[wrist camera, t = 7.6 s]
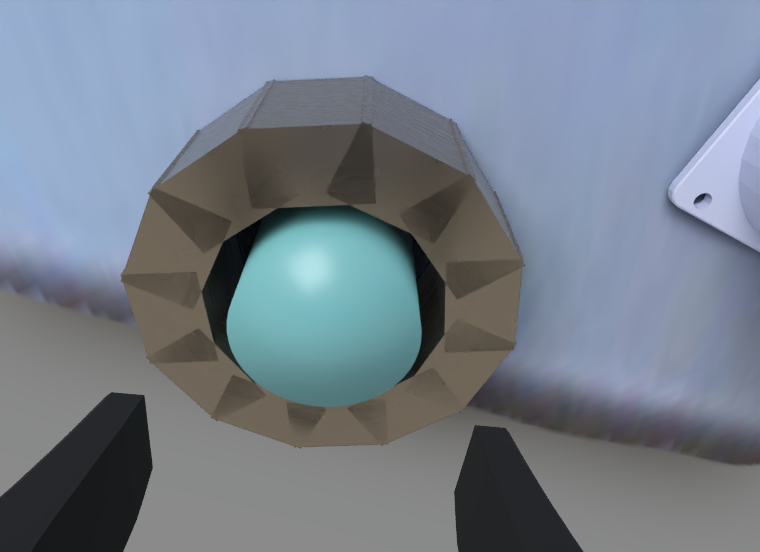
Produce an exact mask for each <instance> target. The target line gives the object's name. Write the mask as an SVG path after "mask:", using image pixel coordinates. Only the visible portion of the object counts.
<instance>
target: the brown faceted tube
mask: <svg viewBox="0 0 760 552" xmlns="http://www.w3.org/2000/svg"><path fill="white" fill-rule="evenodd" d="M148 194H149V195H150V196H149V199H148V202H147V205H146V208H145V211H144V214H143V217H142V220H141V223H140V226H139V229H138V232H137V235H136V238H135V241H134V244H133V247H132V250H131V253H130V255H129V258H128V261H127V264H126V267H125V269H124V270H123V272H122V273H121V278H122V279H121V282H122V283H123V284H124V287H125V290H126V293H127V296H128V299H129V302H130V305H131V308H132V311H133V314H134V317H135V320H136V323H137V326H138V329H139V332H140V335H141V337H142V341H143V344H144V347H145V350H146V353H147V357H146V358H147V359H148V360H149V361H150V363H153V364H154V365H155V366H156V367H157V368H158V369H159V370H160V371H161V372H163V373H164V374H165V375H166V376H167V377H168V378H169V379H170V380H172V381H173V382H174V383H175V384H176V385H177V386H178V387H179V388H180V389H182V390H183V391H184V392H185V393H186V394H187V395H188V396H189V397H191V398H192V399H193V400H194V401H195V402H196V403H197V404H198V405H199V406H200V407H201V408H203V409H204V410H205V411H206V412H207V413H208V414H209V415H211V418H213V419H215V420H216V421H218V420H219V421H222V422H225V423H228V424H231V425H234V426H237V427H239V428H242V429H245V430H249V431H251V432H254V433H257V434H260V435H263V436H266V437H269V438H272V439H275V440H278V441H281V442H284V443H287V444H290V445H292V446H294V447H298V448H302V447H319V446H320V447H321V446H349V445H378V444H381V445H384V444H388V443H389V442H391V441H393V440H396V439H398V438H400V437H403V436H405V435H407V434H409V433H412V432H414V431H416V430H418V429H421V428H423V427H425V426H428V425H430V424H432V423H434V422H437V421H439V420H441V419H443V418H446V417H448V416H450V415H452V414H455V413H457V412H461V411H462V410H464V409H465V406H466V405H467V404H468V402H469V401H470V400H471V399H472V398H473V396H474V395H475V394H476V393H477V392H478V390H479V389H480V388H481V387H482V386H483V384H484V383H485V382H486V381H487V379H488V378H489V377H490V376H491V375H492V373H493V372H494V371H495V370H496V369H497V367H498V366H499V365H500V364H501V363H502V361H503V360H504V359H505V358H506V356H507V355H508V354H509V353H510V352H511V350H514V347H515V346H516V341H515V335H516V325H517V315H518V306H519V296H520V286H521V277H522V267H524V266H525V265H524V263H523V257H522V254H521V252H520V250H519V247H518V245H517V242H516V240H515V238H514V235H513V233H512V230H511V228H510V225H509V223H508V221H507V218H506V216H505V213H504V211H503V209H502V206H501V204H500V201H499V199H498V197H497V194H496V192H495V191H494V192H493V190H492V188H491V187H490V185H489V183H488V182H487V180H486V178H485V176H484V175H483V173H482V171H481V169H480V168H479V166H478V164H477V163H476V161H475V159H474V157H473V156H472V154H471V152H470V150H469V149H468V147H467V145H466V143H465V142H464V140H463V138H462V137H461V135H460V132H459V130H458V127H457V124H456V123H454V122H453V121H452V119H447V118H445V117H443V116H441V115H439V114H437V113H436V112H434V111H432V110H430V109H428V108H426V107H424V106H422V105H420V104H419V103H417V102H415V101H413V100H411V99H409V98H407V97H405V96H403V95H402V94H400V93H398V92H396V91H394V90H392V89H390V88H388V87H387V86H385V85H383V84H381V83H379V82H377V81H375V80H373V77H368V76H366V75H365V76H364V77H360V78H338V79H316V80H294V81H275V80H272V81H271V82H266V84H265V85H264V87H262V88H261V89H259V90H258V91H257V92H255V93H254V94H252V95H251V96H249V97H248V98H247V99H245V100H244V101H242V102H241V103H239V104H238V105H236V106H235V107H234V108H232V109H231V110H229V111H228V112H226V113H225V114H224V115H222V116H221V117H219V118H218V119H216V120H215V121H214V122H212V123H211V124H209V125H208V126H206V127H205V128H203V129H202V130H201V131H200V130H197V132H196V133H195V134H194V135H193V137H192V138H191V139H190V141H189V142H188V143H187V144H186V146H185V147H184V148H183V149H182V151H181V152H180V153H179V154H178V156H177V157H176V158H175V159H174V161H173V162H172V163H171V164H170V166H169V167H168V168H167V169H166V171H165V172H164V173H163V174H162V176H161V177H160V178H159V179H158V181H157V182H156V183H155V185H154V186H153V187H152V189H151V190H150V191H149V192H148ZM336 205H351V206H353V207H355V208H357V209H359V210H361V211H363V212H366V213H368V214H370V215H372V216H374V217H376V218H379V219H381V220H383V221H385V222H387V223H389V224H391V225H394V226H396V227H398V228H400V229H402V230H404V231H407V232H409V233H411V234H412V235H413V236H414V238H415V239H416V241H417V242H418V244H419V245H420V247H421V248H422V249H423V251H424V252H425V254H426V255H427V257H428V258H429V260H430V263H429V264H428V266H427V267H426V269H425V270H424V272H423V273H422V275H421V276H420V278H419V280H418V281H417V292H418V302H419V311H420V321H421V330H422V334H421V344H420V349H419V352H418V355H417V357H416V360H415V362H414V364H413V365H412V367H411V369H410V370H409V371H408V373H407V374H406V375H405V376H404V377H403V378H402V379H401V380H400V381H399V382H398V383H397V384H396V385H395V386H393V387H392V388H391V389H389V390H388V391H386V392H384V393H382V394H381V395H379V396H377V397H374V398H372V399H370V400H367V401H364V402H360V403H357V404H352V405H347V406H337V407H320V406H311V405H305V404H300V403H297V402H293V401H290V400H287V399H284V398H282V397H279V396H277V395H275V394H273V393H272V392H270V391H268V390H266V389H265V388H263V387H262V386H260V385H259V384H258V383H256V382H255V381H254V380H253V379H252V378H250V377H249V375H248V374H247V373H246V372H245V371H244V370H243V369H242V367H241V366H240V365H239V363H238V362H237V360H236V358H235V357H234V355H233V353H232V350H231V348H230V345H229V342H228V336H227V316H228V311H229V308H230V305H231V302H232V299H233V296H234V294H235V291H236V288H237V286H238V283H239V280H240V277H241V275H242V272H243V269H244V267H243V264H242V259H241V254H240V249H239V244H238V239H237V234H236V233H238V232H240V231H241V230H243V229H245V228H246V227H248V226H249V225H251V224H253V223H254V222H256V221H258V220H259V219H261V218H262V217H264V216H266V215H267V214H269V213H271V212H272V211H274V210H275V209H277V208H288V207H312V206H336Z"/></svg>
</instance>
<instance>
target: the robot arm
mask: <svg viewBox="0 0 760 552" xmlns="http://www.w3.org/2000/svg"><path fill="white" fill-rule="evenodd" d="M703 193H706V196H705V197H704V199H703V200H702V201H701V202H699V203H695V204H694V200H695V198H696V197H697V196H699V195H700V194H703ZM668 197H669V199H670V200H671V201H672V202H673V203H674V204H675V205H676V206H677V207H678V208H680V209H682V210H684V211H686V212H687V213H689V214H691V215H693V216H695V217H696V218H698V219H700V220H702V221H704V222H706V223H707V224H709V225H711V226H713V227H715V228H716V229H718V230H720V231H722V232H724V233H726V234H727V235H729V236H731V237H733V238H735V239H736V240H738V241H740V242H742V243H744V244H746V245H747V246H749V247H751V248H753V249H755V250H756V251H758V252H760V79H759V80H758V81H757V82H756V84H755V85H754V86H753V87H752V88H751V90H750V91H749V92H748V93H747V94H746V95H745V97H744V98H743V99H742V100H741V101H740V103H739V104H738V105H737V106H736V107H735V108H734V110H733V111H732V112H731V113H730V114H729V116H728V117H727V118H726V119H725V120H724V121H723V123H722V124H721V125H720V126H719V127H718V129H717V130H716V131H715V132H714V133H713V134H712V136H711V137H710V138H709V139H708V140H707V142H706V143H705V144H704V145H703V146H702V147H701V149H700V150H699V151H698V152H697V153H696V155H695V156H694V157H693V158H692V159H691V160H690V162H689V163H688V164H687V165H686V166H685V168H684V169H683V170H682V171H681V172H680V173H679V175H678V176H677V177H676V178H675V179H674V180H673V182H672V183H671V185H670V187H669V189H668ZM152 468H153V467H152V457H151V449H150V440H149V431H148V424H147V414H146V405H145V397H144V395H135V394H123V393H113V392H112V393H110V394H109V395H107V396H106V397H105V398H104V399H103V400H102V401H101V402H100V403H99V404H98V405H97V406H96V407H95V408H94V409H93V410H92V411H91V412H90V413H89V414H88V415H87V416H86V417H85V418H84V419H83V420H82V421H81V422H80V423H79V424H78V425H77V426H76V427H75V428H74V429H73V430H72V431H71V432H70V433H69V434H68V435H67V436H66V437H65V438H64V439H63V440H62V441H60V442H59V443H58V444H57V445H56V446H55V447H54V448H53V449H52V450H51V451H50V452H49V453H48V454H47V455H46V456H45V457H44V458H43V459H41V460H40V461H39V462H38V463H37V464H36V465H35V466H34V467H33V468H32V469H31V470H30V471H29V472H27V473H26V474H25V475H24V476H23V477H22V478H21V479H20V480H19V481H18V482H17V483H16V484H14V485H13V486H12V487H11V488H10V489H9V490H8V491H7V492H5V493H4V494H3V495H2V496H1V497H0V552H123V551H124V548H125V546H126V544H127V541H128V539H129V536H130V534H131V532H132V530H133V527H134V525H135V522H136V520H137V517H138V514H139V510H140V508H141V505H142V501H143V498H144V495H145V491H146V488H147V484H148V481H149V478H150V475H151V471H152ZM454 493H455V515H456V531H457V545H458V551H459V552H583V550H582V549H581V547H580V546H579V545H578V543H577V542H576V540H575V539H574V537H573V536H572V534H571V533H570V531H569V530H568V528H567V527H566V525H565V524H564V522H563V521H562V519H561V518H560V516H559V515H558V513H557V512H556V510H555V509H554V507H553V506H552V504H551V502H550V501H549V499H548V498H547V496H546V494H545V493H544V491H543V490H542V488H541V486H540V485H539V483H538V481H537V480H536V478H535V476H534V475H533V473H532V471H531V470H530V468H529V466H528V465H527V463H526V461H525V460H524V458H523V456H522V455H521V453H520V451H519V449H518V448H517V446H516V444H515V442H514V441H513V439H512V437H511V435H510V434H509V432H508V431H507V430H506V428H499V427H488V426H476V425H475V427H474V430H473V434H472V437H471V440H470V443H469V447H468V450H467V453H466V456H465V459H464V463H463V466H462V469H461V472H460V476H459V479H458V482H457V485H456V488H455V492H454Z"/></svg>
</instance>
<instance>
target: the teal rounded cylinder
mask: <svg viewBox="0 0 760 552" xmlns="http://www.w3.org/2000/svg"><path fill="white" fill-rule="evenodd" d="M421 334H422V330H421V321H420V311H419V302H418V292H417V282H416V273H415V263H414V254H413V244H412V234H411V233H409V232H407V231H404V230H402V229H400V228H398V227H396V226H394V225H391V224H389V223H387V222H385V221H383V220H381V219H379V218H376V217H374V216H372V215H370V214H368V213H366V212H363V211H361V210H359V209H357V208H355V207H353V206H351V205H336V206H312V207H288V208H277V209H275V210H274V211H272V212H271V213H269V214H267V215H266V216H264V217H263V218H262V220H261V223H260V226H259V229H258V231H257V234H256V237H255V239H254V242H253V245H252V248H251V250H250V253H249V256H248V258H247V261H246V264H245V267H244V269H243V272H242V275H241V277H240V280H239V283H238V286H237V288H236V291H235V294H234V296H233V299H232V302H231V305H230V308H229V311H228V316H227V336H228V342H229V345H230V348H231V350H232V353H233V355H234V357H235V358H236V360H237V362H238V363H239V365H240V366H241V367H242V369H243V370H244V371H245V372H246V373H247V374H248V375H249V377H250V378H252V379H253V380H254V381H255V382H256V383H258V384H259V385H260V386H262V387H263V388H265V389H266V390H268V391H270V392H272V393H273V394H275V395H277V396H279V397H282V398H284V399H287V400H290V401H293V402H297V403H300V404H305V405H311V406H320V407H337V406H347V405H352V404H357V403H360V402H364V401H367V400H370V399H372V398H374V397H377V396H379V395H381V394H382V393H384V392H386V391H388V390H389V389H391V388H392V387H393V386H395V385H396V384H397V383H398V382H399V381H400V380H401V379H402V378H403V377H404V376H405V375H406V374H407V373H408V371H409V370H410V369H411V367H412V365H413V364H414V362H415V360H416V357H417V355H418V352H419V349H420V344H421Z"/></svg>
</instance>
